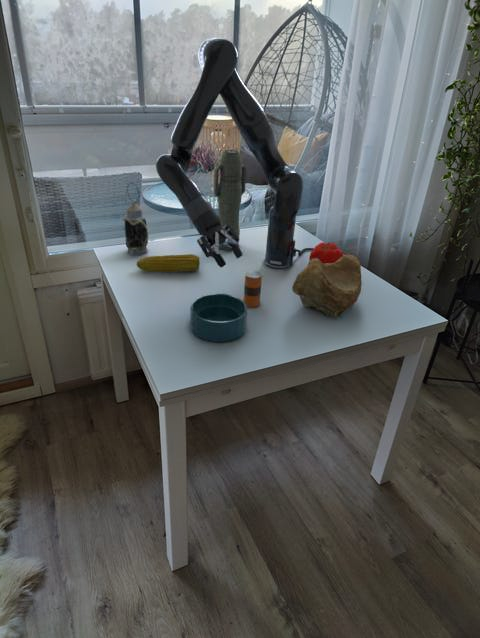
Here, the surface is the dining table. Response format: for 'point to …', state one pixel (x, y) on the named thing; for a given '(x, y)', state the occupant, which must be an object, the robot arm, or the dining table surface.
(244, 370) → the dining table surface
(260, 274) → the tube
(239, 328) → the bowl
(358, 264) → the rough brown rock
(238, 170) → the thermos
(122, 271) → the dining table surface
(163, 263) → the food
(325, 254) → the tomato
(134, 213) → the lantern
